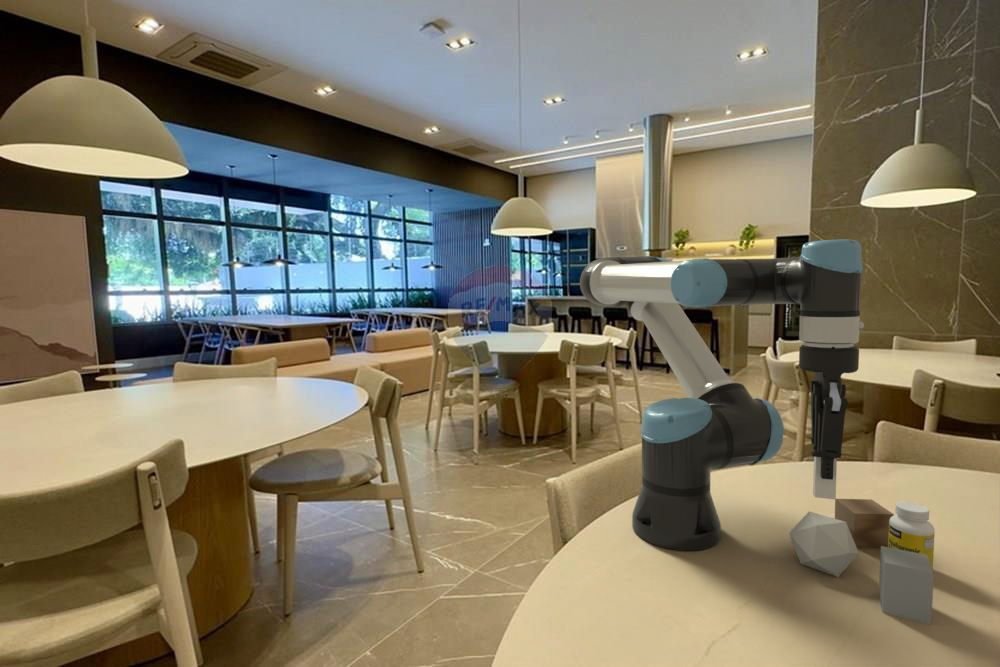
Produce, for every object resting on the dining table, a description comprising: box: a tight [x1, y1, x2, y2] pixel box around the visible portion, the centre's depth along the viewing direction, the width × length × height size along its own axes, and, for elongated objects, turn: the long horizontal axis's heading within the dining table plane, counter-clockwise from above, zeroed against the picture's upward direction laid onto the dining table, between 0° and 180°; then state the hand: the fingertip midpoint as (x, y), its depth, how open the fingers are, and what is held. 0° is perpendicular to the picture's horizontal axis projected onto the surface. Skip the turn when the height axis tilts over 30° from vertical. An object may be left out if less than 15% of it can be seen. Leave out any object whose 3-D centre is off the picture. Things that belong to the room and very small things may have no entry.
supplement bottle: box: [888, 500, 935, 571], centre depth 77 cm, size 5×5×10 cm
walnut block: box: [834, 498, 895, 550], centre depth 86 cm, size 6×6×6 cm
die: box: [788, 511, 859, 578], centre depth 78 cm, size 8×9×10 cm
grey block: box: [878, 546, 935, 625], centre depth 68 cm, size 5×5×7 cm
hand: (824, 496), depth 78 cm, fingers closed
